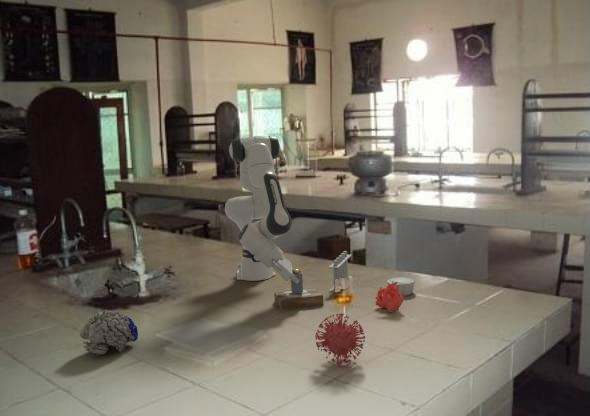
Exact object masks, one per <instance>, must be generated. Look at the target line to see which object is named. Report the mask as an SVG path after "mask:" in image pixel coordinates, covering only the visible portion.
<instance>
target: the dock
mask: <svg viewBox="0 0 590 416" xmlns="http://www.w3.org/2000/svg"><path fill="white" fill-rule="evenodd" d="M273 293H274V294H273V296H274V303H275V304H276V306H277V307H278V308H279V309H280V310H282V311H288V310H295V309H302V308H309V307H317V306H324V304H325V303H324V294H322V293H321V292H320V291H319V290H317V288H315V287H310V288H309V287H308V288H303V292H298V293H292V291H291V290H283V291H277V292H276V291H275V292H273Z"/></svg>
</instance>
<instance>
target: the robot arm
mask: <svg viewBox="0 0 590 416" xmlns="http://www.w3.org/2000/svg"><path fill="white" fill-rule="evenodd" d="M228 151H229V156H230V158H231V160H232V161H233V162H235V163H239V183H240V186H241V187H242V188H243V190H245V191H248V192H250V193H252V194H253V195H244V196H243V195H242V196H235V197H232V198H229V199H227V200H226V203H225V204H224V205H225V206H224V212H225V215H226V217H228V219H230V220H231V221H232V222H234V223H235V224H236V226H237V227H238V229H239V230H240V232H239V235H238V241H239V242H240V244H241V245H242V249H241V255H242V258H241V260H240V263H237V264H236V265H237V269H238V270H236V280H239V281H251V282H253V281H254V282H256V281H264V280H268V279H271V278H272V277H274V276H276V275H277V274H278V275H279V276H280V277H281V278H282V279H283V280H285V281H287V282H288V281H289V280H290V281H291V280H292V281H294V282H295V283H296V284H298V283H299V281H300V280H299V279H298V278H297V277H296V276H294V274H293V272H292V271H293V269H294V268H293V266H292V263H291V261H290V260H289V259H288V258H287V256H286V255H284V251H283V250H282V249H280V248H279V246H278V245H276V244H275V243H274V242H273V241H274V240H275V239H277V238H279V237H281V236H282V235H284V234H286V233H288V232H289V231H290V229H291V227H292V224H293V222H292V217H291V215H290V213H289V211H288V209H287V207H286V204H285V201H284V200H285V199H284V196H283V192H282V188H281V185H280V181H279V179H278V177H277V173H276V171H275V165H274V160H276V159H278V158H279V156H280V153H281V144H280V142H279V139H278V137H276V136H274V135H267V136H266V135H253V136H247V137H236V138H234V139H232V140H231V141H230V145H229V148H228ZM253 220H258V221H254V222H252V221H253ZM273 270H274V271H275V272H274V271H273Z"/></svg>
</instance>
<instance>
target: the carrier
mask: <svg viewBox="0 0 590 416" xmlns="http://www.w3.org/2000/svg"><path fill="white" fill-rule="evenodd" d="M292 272H293V271H292ZM294 276H296V277H297V278H298V279H299V280H300V281H299V283H298V284H296V283H295V282H294V281H292V280H291V279H290V288H291V289H290V291H292V293H298V292H303V289H304V285H303V271H302V269H301V270H300V274H294Z"/></svg>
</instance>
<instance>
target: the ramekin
mask: <svg viewBox="0 0 590 416" xmlns="http://www.w3.org/2000/svg"><path fill="white" fill-rule="evenodd" d="M392 282H394V283H395V282H398V283H397V284H396V285H395V287H396V289H397V285H399V292H398V293H400V295H402V296H403V297H405V296H409V295H411V294H413V292H414V286H415V280H414V278H411V277H402V276H401V277H399V276H398V277H391V278H389V279H388V280H387V281H386V284H387V285H388V284H392ZM389 289H390V288H389Z"/></svg>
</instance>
